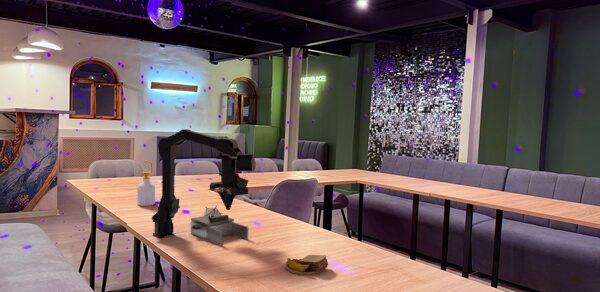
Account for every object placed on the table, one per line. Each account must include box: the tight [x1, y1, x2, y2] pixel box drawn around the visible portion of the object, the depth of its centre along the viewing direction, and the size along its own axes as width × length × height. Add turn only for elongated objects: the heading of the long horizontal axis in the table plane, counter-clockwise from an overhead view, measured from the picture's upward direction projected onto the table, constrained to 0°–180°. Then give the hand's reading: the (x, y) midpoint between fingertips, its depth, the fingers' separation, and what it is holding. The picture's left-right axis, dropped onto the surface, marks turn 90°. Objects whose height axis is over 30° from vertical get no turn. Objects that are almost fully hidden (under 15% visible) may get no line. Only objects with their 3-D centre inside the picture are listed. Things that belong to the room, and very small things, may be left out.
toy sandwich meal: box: [285, 254, 329, 276], centre depth 135 cm, size 12×14×5 cm
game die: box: [203, 205, 224, 216], centre depth 189 cm, size 9×8×10 cm
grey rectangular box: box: [190, 220, 249, 247], centre depth 170 cm, size 17×22×5 cm
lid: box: [190, 214, 235, 226], centre depth 173 cm, size 13×12×3 cm
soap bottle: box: [136, 159, 156, 207], centre depth 228 cm, size 9×9×25 cm
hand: (228, 209), depth 165 cm, fingers closed
